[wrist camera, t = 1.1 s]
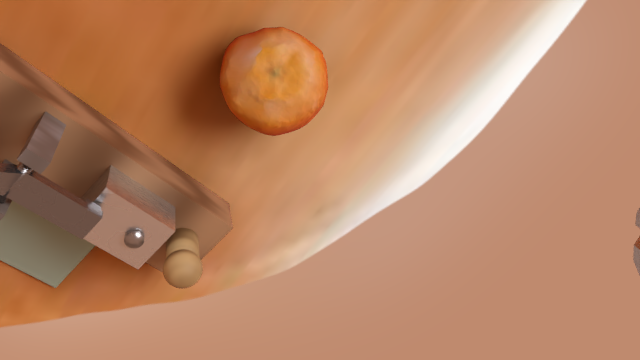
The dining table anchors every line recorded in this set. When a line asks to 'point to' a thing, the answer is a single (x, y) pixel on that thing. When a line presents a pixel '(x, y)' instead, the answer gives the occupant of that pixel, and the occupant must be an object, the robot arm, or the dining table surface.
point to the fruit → (274, 80)
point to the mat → (39, 245)
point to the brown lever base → (103, 162)
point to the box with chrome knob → (129, 218)
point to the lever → (48, 199)
